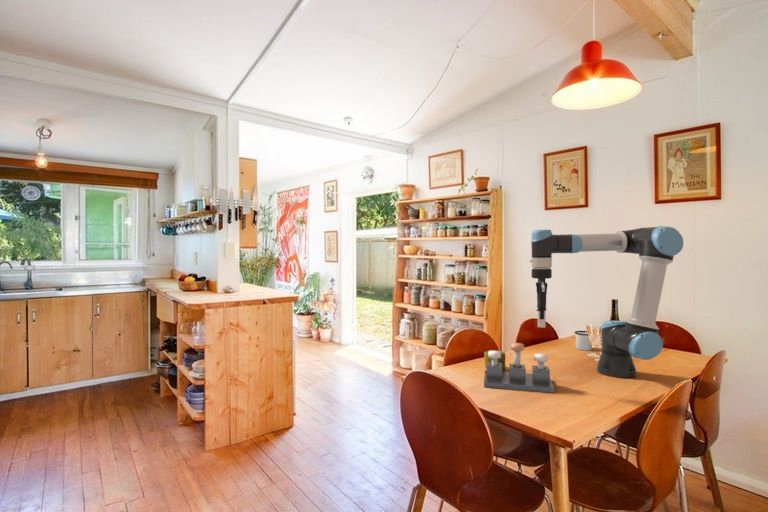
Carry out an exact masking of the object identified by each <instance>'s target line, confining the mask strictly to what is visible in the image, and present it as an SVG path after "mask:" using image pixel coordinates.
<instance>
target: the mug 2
mask: <svg viewBox="0 0 768 512" xmlns="http://www.w3.org/2000/svg"><path fill="white" fill-rule="evenodd" d="M587 331H588V330H587ZM587 331H586V330H575V331H574V334H575V349H576V350H580V351H585V352H588V351H589V352H590V351H592V350H593V349H592V345H591V343H590V340H589V337H588V334H587Z"/></svg>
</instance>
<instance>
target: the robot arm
mask: <svg viewBox="0 0 768 512" xmlns="http://www.w3.org/2000/svg"><path fill="white" fill-rule="evenodd" d="M530 244H531V259H530V260H529V262H530V263H531V268H532V269H531V278H533V279H537V282H535V287H536V302H537V303H536V308H537V309H536V312H537V328H546V311H547V293H548V292H547V290H548V283H547V282H546V279H552V275H553V273H552V269H551V268H552V267H553V266H552V265H553V262H552V261H553V258H552V256H553V254H578V253H581V252H584V253H585V252H587V253H588V252H612V251H613V252H616V253H618V254H623V253H624V254H635V255H638V258H639V259H640V260H641V266H640V271H639V277H638V282H637V284H636V290H635V295H634V301H633V304H632V310H631V314H630V318H629V319H627V320H604V321H602V322H601V328H600V329H601V330H600V331H601V343H600V345H601V347H600V349H601V353H600V357H599V359H598V361H597V363H596V371H597V372H598V373H600V374H603V375H605V376H609V377H614V378H623V379H624V378H627V379H629V378H635V377H636V376H637V368H636V366H635V363H634V360H633V359H634V358H635V359H639V360H643V361H648V360H652V359H653V360H654V358H656V357H657V356H659V355H660V354H661V352H662V350H663V348H664V347H663V346H664V345H663V339H662V338H661V336H660V335H659V329H660V328H659V326H658V325H657V324H656V321H657V317H658V313H659V306H660V302H661V297H662V293H663V287H664V283H665V277H666V272H667V267H668V266H669V264H672V263H673V261H674V257H675V256H677V255H678V254H679V253H681V251H682V250H683V249H684V238H683V236H682V234H681V233H680V231H679V230H678V229H676V228H675V227H672V226H663V225H659V226H651V227H650V226H649V227H640V228H635V229H634V228H633V229H628V230H618V231H616V232H614V233H587V234H572V233H570V234H553V232H552V230H551V229H534V230H533V231H532V232H531V243H530Z"/></svg>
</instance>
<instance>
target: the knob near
mask: <svg viewBox="0 0 768 512" xmlns="http://www.w3.org/2000/svg"><path fill="white" fill-rule="evenodd" d="M533 356H534V357H533V359H534V361H536V362H537V366H538V369H544V366H545V363H546V362H548V361H549V360H548V357H549V355H548V354H545V353H534V355H533Z"/></svg>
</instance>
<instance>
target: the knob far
mask: <svg viewBox="0 0 768 512" xmlns="http://www.w3.org/2000/svg"><path fill="white" fill-rule="evenodd" d="M488 351H489V352H488V357H489V358H492V366H498V359H499V358H501V352H499V351H500V350H493V351H491V350H488Z"/></svg>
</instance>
